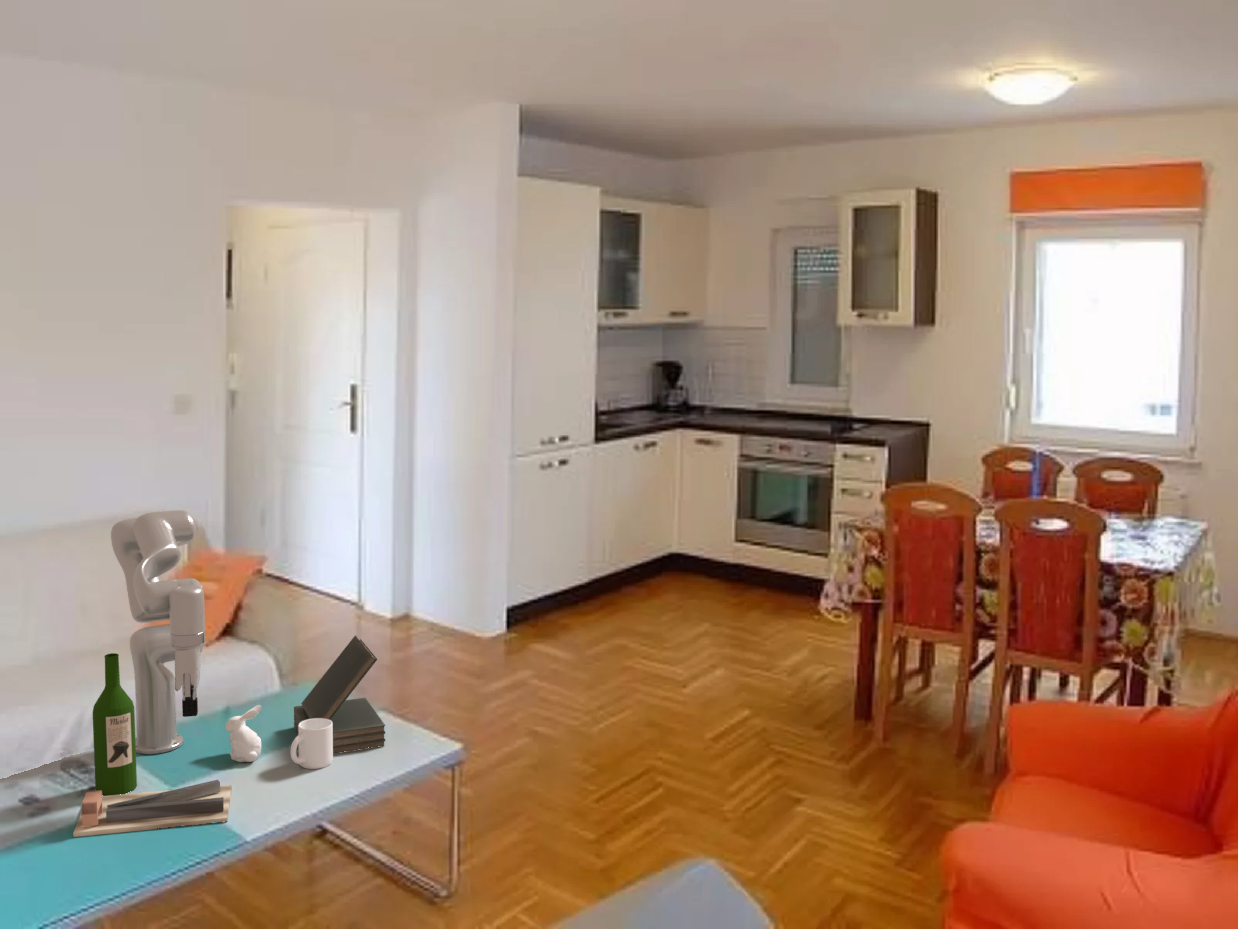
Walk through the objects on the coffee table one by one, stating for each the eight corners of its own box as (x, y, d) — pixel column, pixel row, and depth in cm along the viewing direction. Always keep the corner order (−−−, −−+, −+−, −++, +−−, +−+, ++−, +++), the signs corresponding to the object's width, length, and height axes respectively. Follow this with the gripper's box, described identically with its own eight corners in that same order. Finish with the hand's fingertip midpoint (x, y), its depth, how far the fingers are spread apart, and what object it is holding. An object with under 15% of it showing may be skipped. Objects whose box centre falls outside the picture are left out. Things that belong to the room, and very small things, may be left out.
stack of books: (294, 728, 301) (292, 639, 298) (365, 718, 309) (365, 632, 306) (308, 759, 280) (307, 664, 277) (385, 748, 289) (385, 655, 286)
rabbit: (222, 753, 282) (221, 708, 280) (258, 745, 288) (257, 700, 286) (239, 768, 273) (238, 722, 271) (276, 760, 279) (275, 714, 277)
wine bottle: (105, 800, 253) (100, 663, 249) (89, 788, 259) (83, 654, 255) (143, 788, 260) (139, 655, 256) (127, 777, 266) (122, 646, 262)
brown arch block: (87, 814, 243) (86, 791, 243) (102, 812, 244) (101, 790, 243) (82, 826, 237) (81, 803, 237) (97, 825, 238) (96, 802, 237)
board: (88, 801, 252) (88, 786, 252) (231, 788, 261) (231, 773, 261) (73, 837, 235) (72, 820, 235) (227, 822, 244) (226, 806, 243)
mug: (302, 777, 268) (301, 736, 267) (279, 769, 273) (279, 729, 272) (339, 761, 278) (339, 722, 277) (317, 754, 283) (316, 715, 281)
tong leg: (109, 818, 242) (109, 807, 241) (107, 815, 243) (107, 805, 242) (220, 791, 256) (219, 782, 256) (217, 789, 257) (217, 779, 257)
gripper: (174, 631, 262) (176, 706, 264) (167, 649, 248) (169, 727, 250) (207, 629, 264) (209, 703, 266) (202, 646, 250) (204, 725, 252)
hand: (190, 715), depth 258 cm, fingers closed
